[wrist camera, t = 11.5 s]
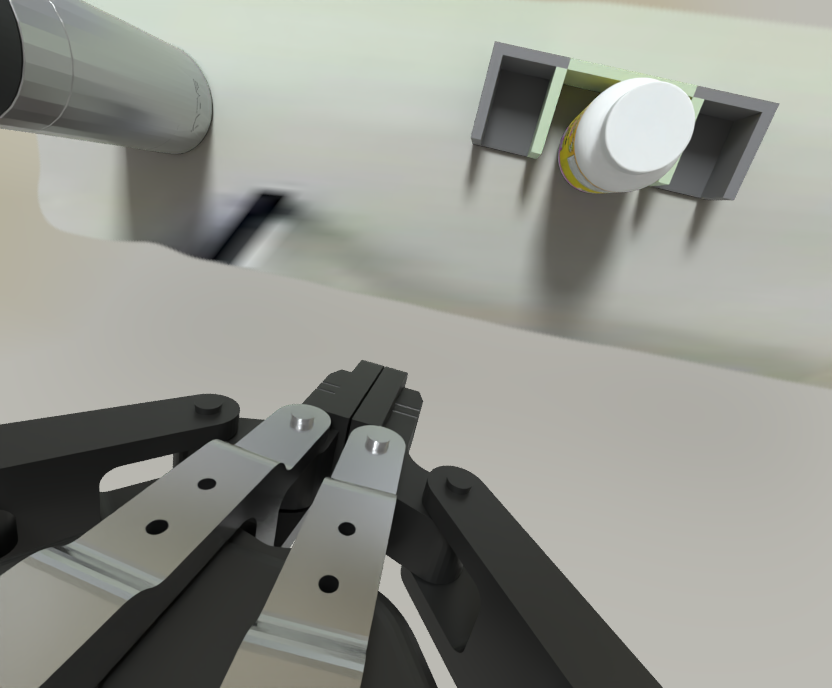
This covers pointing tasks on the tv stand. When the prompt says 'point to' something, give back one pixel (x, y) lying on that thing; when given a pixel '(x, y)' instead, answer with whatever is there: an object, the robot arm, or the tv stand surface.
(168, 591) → the robot arm
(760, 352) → the tv stand surface
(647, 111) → the supplement bottle
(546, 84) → the bay rack
